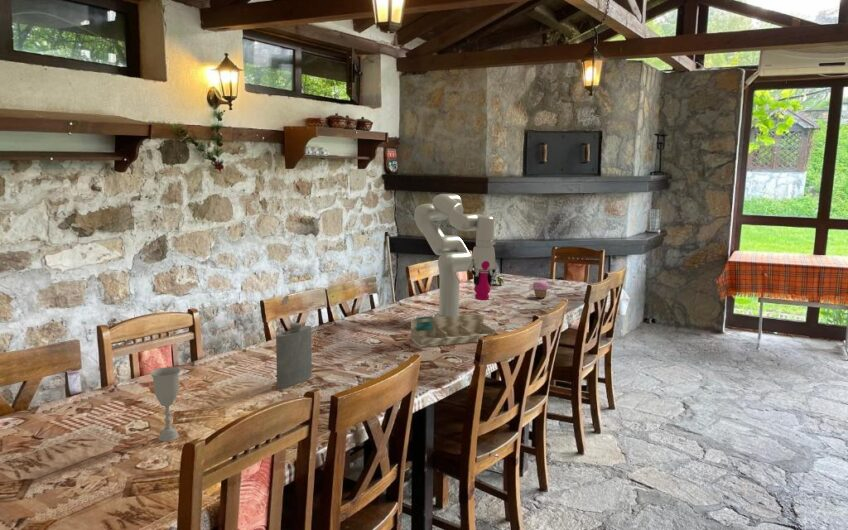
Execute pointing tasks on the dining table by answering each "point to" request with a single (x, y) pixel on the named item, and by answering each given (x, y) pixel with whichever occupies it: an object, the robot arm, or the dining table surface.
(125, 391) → the dining table surface
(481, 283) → the pepper mill
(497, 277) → the passion flower
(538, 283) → the cupcake
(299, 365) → the hip flask
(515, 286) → the dining table surface
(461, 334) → the rack
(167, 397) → the chalice
